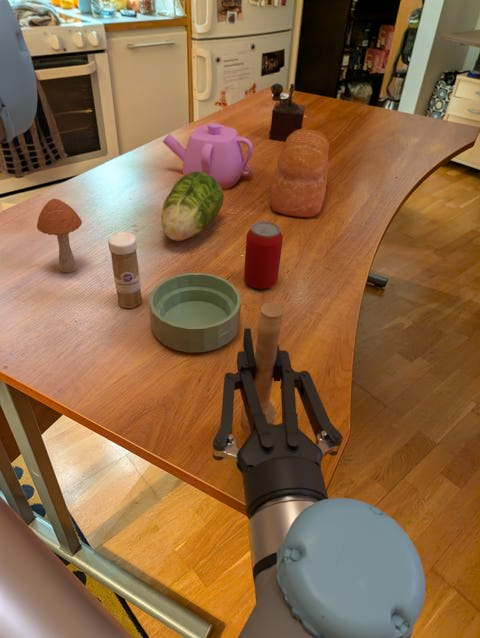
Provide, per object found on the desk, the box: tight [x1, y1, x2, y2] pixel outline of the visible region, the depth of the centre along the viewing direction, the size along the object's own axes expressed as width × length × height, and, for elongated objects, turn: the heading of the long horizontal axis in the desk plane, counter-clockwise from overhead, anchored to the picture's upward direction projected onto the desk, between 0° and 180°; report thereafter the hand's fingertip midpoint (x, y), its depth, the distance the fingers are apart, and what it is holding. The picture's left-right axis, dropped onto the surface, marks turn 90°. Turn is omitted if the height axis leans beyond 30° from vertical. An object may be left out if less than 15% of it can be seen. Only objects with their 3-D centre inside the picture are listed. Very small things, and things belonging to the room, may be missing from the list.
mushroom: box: [36, 198, 83, 274], centre depth 87 cm, size 8×8×15 cm
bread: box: [269, 128, 330, 218], centre depth 118 cm, size 14×26×15 cm, turn 168°
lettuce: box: [160, 172, 225, 242], centre depth 102 cm, size 12×21×11 cm, turn 166°
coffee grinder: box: [268, 82, 306, 142], centre depth 151 cm, size 16×11×18 cm
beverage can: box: [243, 220, 284, 290], centre depth 88 cm, size 7×7×12 cm
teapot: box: [162, 122, 254, 190], centre depth 125 cm, size 19×21×14 cm
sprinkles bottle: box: [107, 231, 143, 309], centre depth 81 cm, size 5×5×13 cm
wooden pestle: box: [240, 302, 284, 437], centre depth 55 cm, size 4×4×20 cm
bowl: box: [148, 272, 242, 354], centre depth 79 cm, size 15×15×6 cm
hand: (258, 336), depth 59 cm, fingers closed on wooden pestle, 2 cm apart
